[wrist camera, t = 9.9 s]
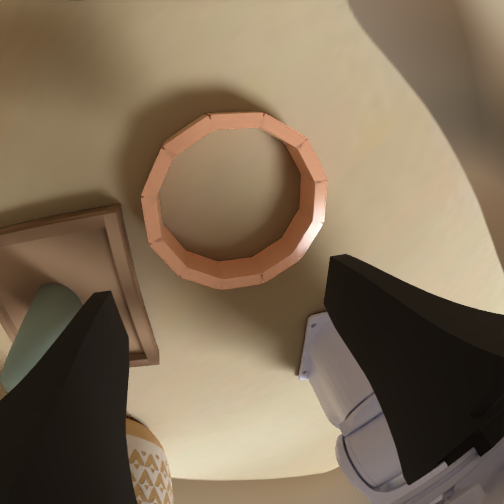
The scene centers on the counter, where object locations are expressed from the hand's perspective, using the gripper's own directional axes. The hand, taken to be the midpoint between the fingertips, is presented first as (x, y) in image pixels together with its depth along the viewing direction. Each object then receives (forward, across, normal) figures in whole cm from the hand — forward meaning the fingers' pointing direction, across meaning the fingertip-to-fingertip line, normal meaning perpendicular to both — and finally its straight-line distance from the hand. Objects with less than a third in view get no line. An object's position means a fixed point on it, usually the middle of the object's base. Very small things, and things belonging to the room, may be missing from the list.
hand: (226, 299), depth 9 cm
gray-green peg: (+9, +12, +6) cm, 16 cm away
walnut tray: (+10, +12, +6) cm, 16 cm away
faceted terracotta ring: (+10, -2, 0) cm, 10 cm away
